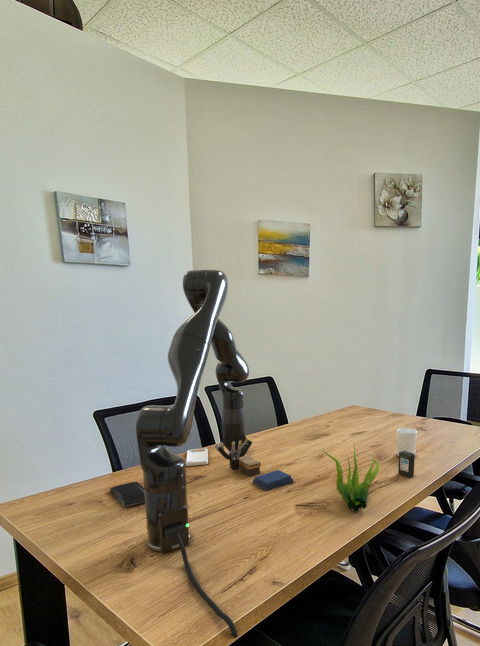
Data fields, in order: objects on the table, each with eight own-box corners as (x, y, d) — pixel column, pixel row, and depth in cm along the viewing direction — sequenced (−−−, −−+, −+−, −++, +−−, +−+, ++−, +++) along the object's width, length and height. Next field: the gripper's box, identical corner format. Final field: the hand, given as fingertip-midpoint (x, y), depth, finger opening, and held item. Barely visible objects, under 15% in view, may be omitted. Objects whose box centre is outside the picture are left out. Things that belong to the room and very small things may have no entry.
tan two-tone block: (261, 473, 146) (260, 462, 145) (249, 476, 143) (249, 465, 143) (244, 463, 155) (243, 453, 154) (232, 466, 152) (232, 455, 152)
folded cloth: (293, 482, 139) (293, 475, 139) (266, 490, 133) (265, 483, 132) (279, 475, 145) (279, 468, 145) (253, 482, 139) (252, 475, 138)
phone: (136, 481, 136) (153, 496, 125) (136, 484, 136) (153, 499, 125) (108, 487, 131) (124, 504, 120) (109, 491, 131) (124, 508, 120)
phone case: (207, 464, 154) (207, 451, 168) (207, 460, 154) (207, 448, 168) (186, 466, 152) (187, 453, 166) (185, 462, 152) (187, 449, 166)
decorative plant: (385, 476, 145) (387, 434, 142) (365, 516, 117) (366, 464, 114) (334, 470, 150) (335, 429, 147) (303, 507, 122) (303, 457, 119)
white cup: (419, 454, 166) (420, 429, 165) (411, 460, 160) (412, 434, 158) (400, 451, 171) (401, 426, 169) (392, 456, 164) (393, 431, 162)
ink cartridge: (397, 474, 147) (398, 451, 145) (402, 472, 148) (402, 450, 147) (409, 478, 143) (410, 455, 142) (413, 476, 145) (414, 453, 144)
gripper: (219, 425, 136) (221, 477, 139) (256, 419, 145) (257, 468, 148) (209, 420, 142) (211, 470, 145) (245, 415, 151) (246, 462, 153)
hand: (234, 469), depth 146 cm, fingers closed
